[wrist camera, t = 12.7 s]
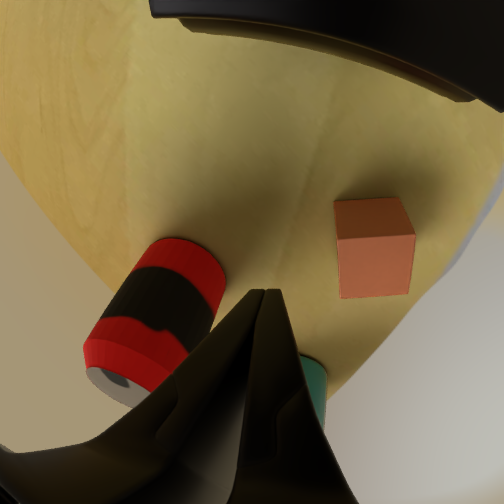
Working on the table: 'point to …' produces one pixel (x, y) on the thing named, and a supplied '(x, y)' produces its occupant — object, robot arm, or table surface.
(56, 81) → the table surface
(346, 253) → the block
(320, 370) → the cup
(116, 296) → the soda can
